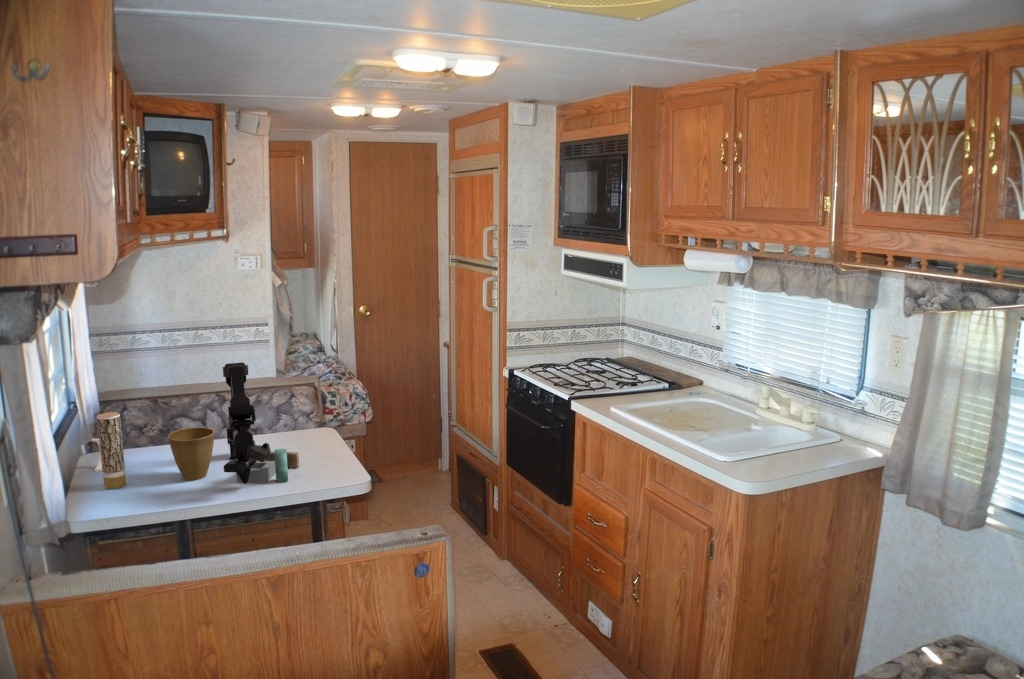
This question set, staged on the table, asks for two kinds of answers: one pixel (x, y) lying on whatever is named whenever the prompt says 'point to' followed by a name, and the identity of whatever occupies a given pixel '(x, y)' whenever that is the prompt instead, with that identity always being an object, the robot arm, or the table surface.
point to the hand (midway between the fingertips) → (245, 483)
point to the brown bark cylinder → (111, 450)
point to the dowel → (281, 465)
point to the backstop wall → (291, 459)
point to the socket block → (260, 472)
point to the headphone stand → (99, 467)
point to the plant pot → (192, 451)
